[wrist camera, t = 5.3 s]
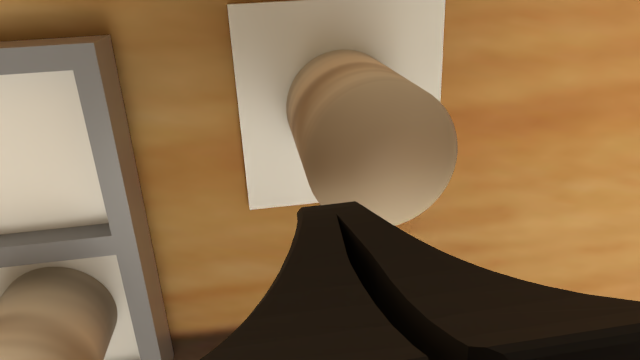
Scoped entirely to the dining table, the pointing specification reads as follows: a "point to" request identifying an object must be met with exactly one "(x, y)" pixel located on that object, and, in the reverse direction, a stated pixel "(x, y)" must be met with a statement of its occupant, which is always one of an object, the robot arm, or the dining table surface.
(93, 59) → the shallow grey tray
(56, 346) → the cylinder
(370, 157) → the billet
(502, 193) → the dining table surface
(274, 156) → the plate
